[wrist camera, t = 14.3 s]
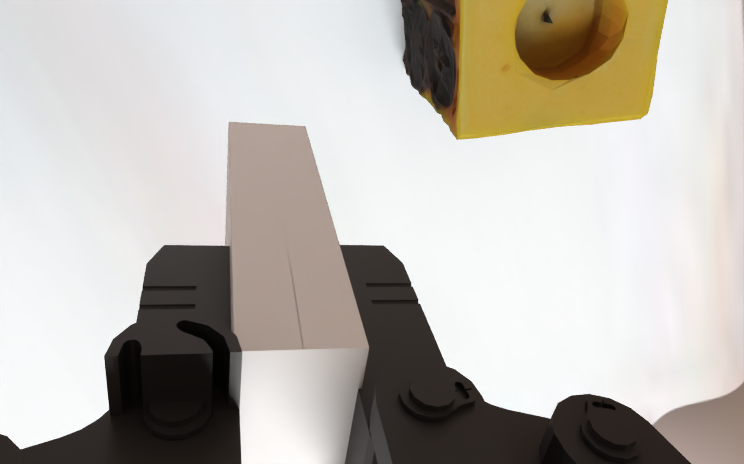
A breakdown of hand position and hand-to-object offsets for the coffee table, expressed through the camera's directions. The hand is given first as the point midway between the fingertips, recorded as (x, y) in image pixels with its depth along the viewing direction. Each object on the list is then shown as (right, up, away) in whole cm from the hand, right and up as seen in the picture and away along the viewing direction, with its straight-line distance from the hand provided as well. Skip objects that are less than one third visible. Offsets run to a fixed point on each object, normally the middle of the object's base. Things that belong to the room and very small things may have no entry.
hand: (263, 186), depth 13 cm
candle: (+9, +13, +22) cm, 27 cm away
